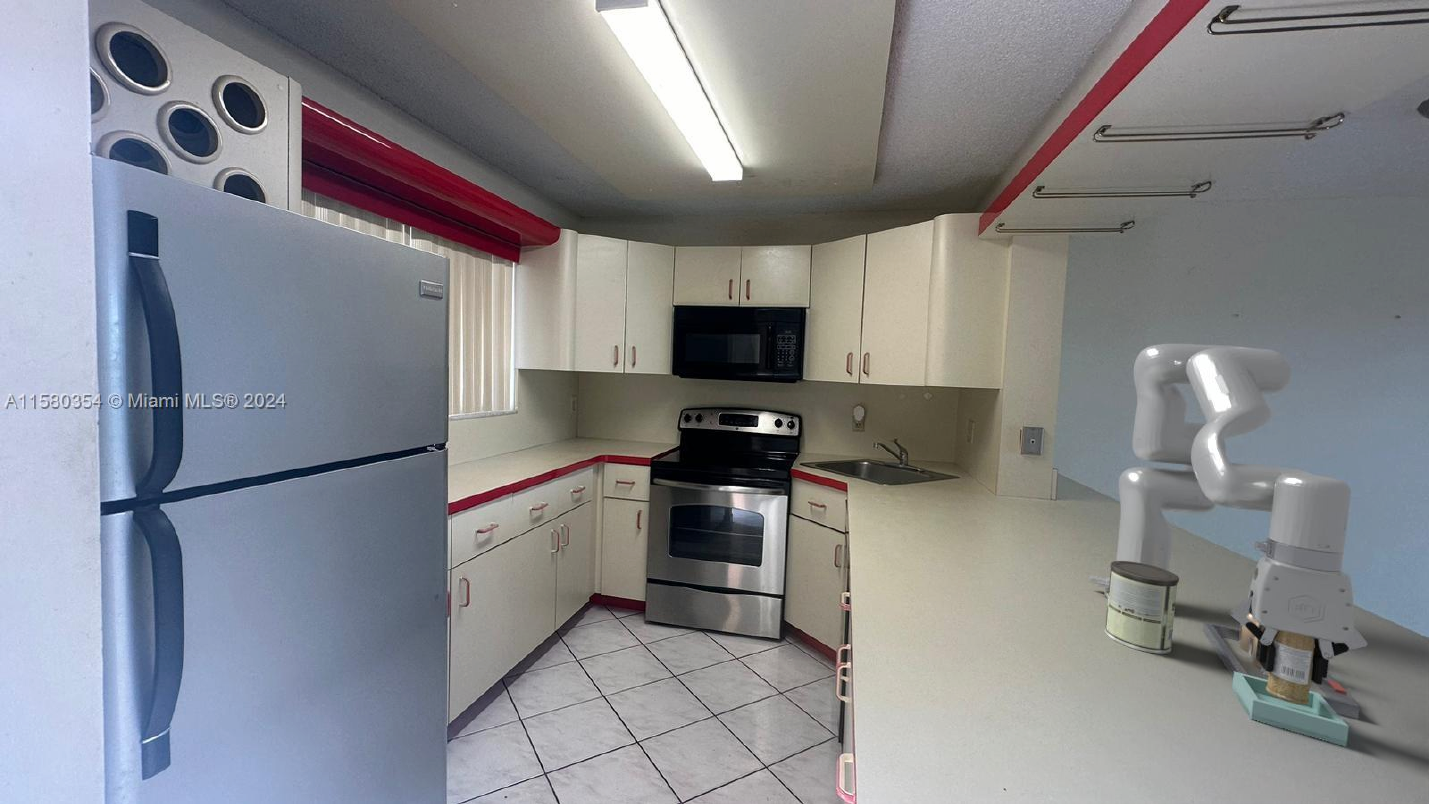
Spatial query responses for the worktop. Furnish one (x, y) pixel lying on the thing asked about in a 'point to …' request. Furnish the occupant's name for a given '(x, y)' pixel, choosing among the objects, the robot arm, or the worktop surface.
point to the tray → (1290, 711)
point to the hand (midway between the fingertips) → (1289, 672)
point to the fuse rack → (1215, 633)
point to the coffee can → (1141, 606)
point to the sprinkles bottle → (1291, 668)
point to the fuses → (1246, 641)
